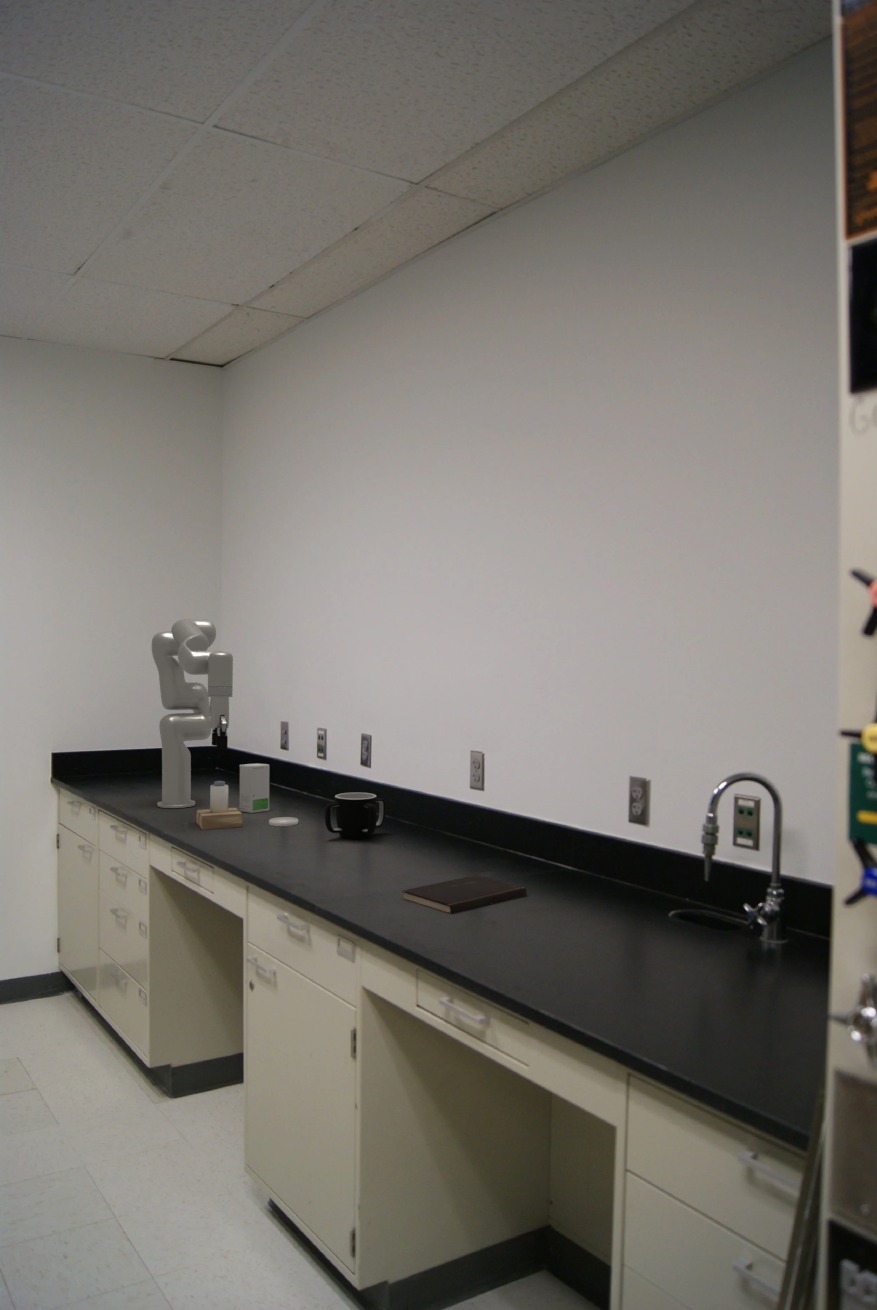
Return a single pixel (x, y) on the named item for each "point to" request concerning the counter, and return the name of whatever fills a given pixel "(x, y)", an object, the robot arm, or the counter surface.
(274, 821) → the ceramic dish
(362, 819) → the mug
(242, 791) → the skincare box
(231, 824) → the oak slab
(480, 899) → the hardcover book
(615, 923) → the counter surface
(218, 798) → the reagent bottle
